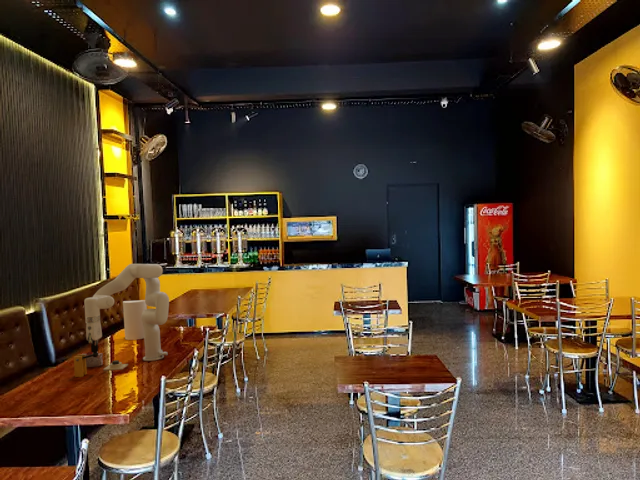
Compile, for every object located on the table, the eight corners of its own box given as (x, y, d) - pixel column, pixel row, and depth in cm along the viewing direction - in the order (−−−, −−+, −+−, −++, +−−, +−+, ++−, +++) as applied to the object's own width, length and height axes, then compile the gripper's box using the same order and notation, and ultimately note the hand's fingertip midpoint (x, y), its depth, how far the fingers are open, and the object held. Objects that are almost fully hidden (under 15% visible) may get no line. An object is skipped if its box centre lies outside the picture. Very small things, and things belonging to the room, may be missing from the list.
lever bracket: (93, 375, 286) (91, 353, 285) (86, 379, 278) (85, 357, 277) (75, 376, 286) (73, 354, 285) (68, 380, 278) (67, 357, 277)
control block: (128, 367, 299) (127, 360, 298) (122, 372, 290) (122, 365, 289) (109, 368, 298) (109, 361, 298) (103, 373, 289) (103, 366, 289)
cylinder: (144, 339, 373) (142, 302, 372) (121, 340, 373) (118, 303, 372) (152, 333, 390) (150, 298, 389) (130, 334, 390) (128, 299, 389)
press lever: (100, 355, 283) (98, 350, 283) (97, 357, 280) (96, 351, 280) (79, 361, 283) (77, 355, 283) (76, 362, 280) (75, 357, 280)
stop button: (119, 363, 296) (119, 360, 296) (117, 364, 292) (117, 361, 292) (113, 363, 296) (113, 360, 296) (111, 365, 292) (111, 362, 292)
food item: (105, 365, 306) (104, 349, 306) (100, 369, 298) (99, 352, 298) (82, 366, 305) (81, 350, 305) (76, 370, 297) (75, 354, 297)
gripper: (93, 321, 273) (95, 355, 274) (105, 316, 288) (106, 348, 289) (79, 322, 273) (82, 355, 274) (91, 317, 288) (93, 348, 289)
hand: (94, 351), depth 281 cm, fingers closed
